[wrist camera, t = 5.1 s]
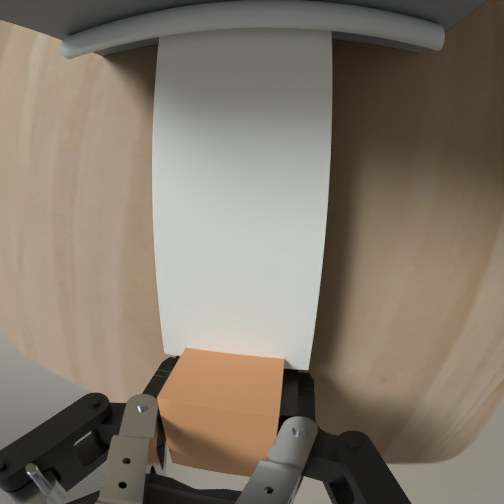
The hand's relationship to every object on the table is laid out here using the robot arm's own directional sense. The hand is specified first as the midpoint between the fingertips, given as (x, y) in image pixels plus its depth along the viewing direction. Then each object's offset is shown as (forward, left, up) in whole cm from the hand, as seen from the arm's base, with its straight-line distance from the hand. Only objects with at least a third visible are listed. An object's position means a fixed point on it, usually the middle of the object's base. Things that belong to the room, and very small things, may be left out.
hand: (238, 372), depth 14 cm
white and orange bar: (-8, 0, 0) cm, 8 cm away
